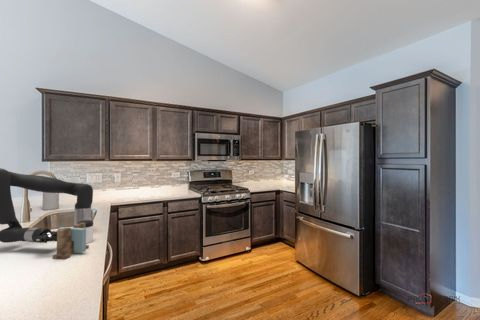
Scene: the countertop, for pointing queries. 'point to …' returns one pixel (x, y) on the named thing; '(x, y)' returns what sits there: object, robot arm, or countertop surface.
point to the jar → (88, 230)
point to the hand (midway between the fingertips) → (65, 236)
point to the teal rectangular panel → (78, 238)
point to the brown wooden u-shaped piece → (66, 242)
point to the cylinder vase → (50, 201)
